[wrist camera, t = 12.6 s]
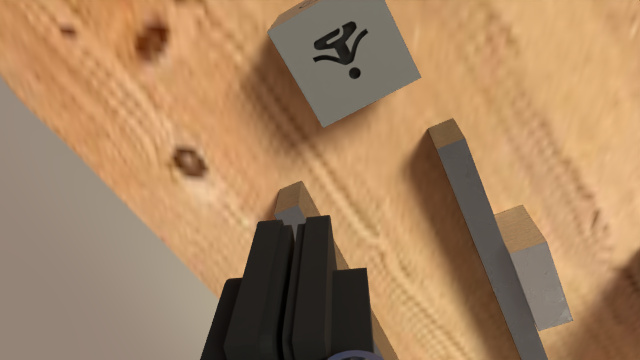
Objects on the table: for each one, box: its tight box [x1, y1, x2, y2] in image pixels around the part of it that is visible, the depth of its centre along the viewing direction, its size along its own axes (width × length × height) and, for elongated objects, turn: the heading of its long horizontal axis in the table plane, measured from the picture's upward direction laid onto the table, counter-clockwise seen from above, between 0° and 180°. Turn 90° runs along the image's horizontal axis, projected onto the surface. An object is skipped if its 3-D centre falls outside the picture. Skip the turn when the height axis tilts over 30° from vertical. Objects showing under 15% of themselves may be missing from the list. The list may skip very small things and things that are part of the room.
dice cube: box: [267, 0, 421, 128], centre depth 24 cm, size 5×5×5 cm
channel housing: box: [274, 118, 573, 360], centre depth 32 cm, size 20×15×4 cm
